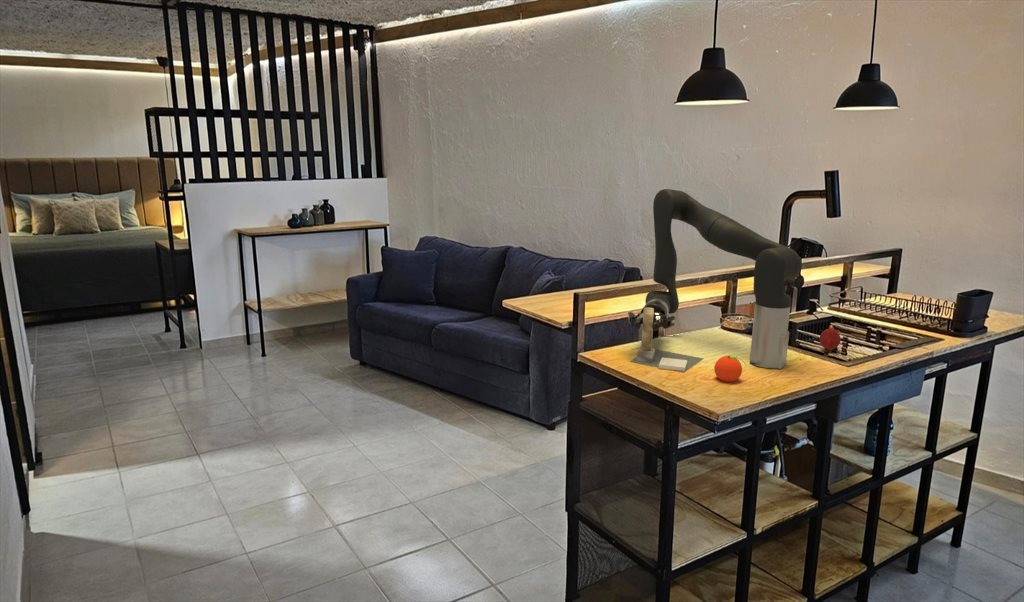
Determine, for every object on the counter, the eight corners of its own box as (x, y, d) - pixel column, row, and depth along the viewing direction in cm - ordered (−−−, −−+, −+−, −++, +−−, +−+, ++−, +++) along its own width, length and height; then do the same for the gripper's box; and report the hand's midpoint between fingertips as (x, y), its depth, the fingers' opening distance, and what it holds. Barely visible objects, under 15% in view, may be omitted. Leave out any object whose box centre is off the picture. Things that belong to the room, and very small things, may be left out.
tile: (687, 360, 187) (685, 367, 180) (687, 364, 187) (684, 371, 181) (662, 357, 189) (658, 364, 183) (661, 361, 189) (658, 368, 183)
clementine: (740, 377, 179) (742, 352, 177) (748, 386, 172) (751, 360, 170) (710, 377, 179) (712, 351, 177) (717, 385, 172) (719, 359, 170)
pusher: (654, 358, 192) (657, 307, 189) (652, 362, 188) (655, 310, 185) (639, 356, 193) (642, 306, 190) (636, 360, 189) (639, 309, 186)
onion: (842, 354, 201) (845, 328, 200) (823, 353, 201) (826, 327, 200) (833, 348, 207) (837, 323, 205) (815, 348, 207) (818, 323, 205)
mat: (703, 360, 193) (703, 358, 193) (683, 374, 180) (683, 372, 180) (651, 350, 202) (651, 348, 201) (629, 363, 189) (629, 361, 189)
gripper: (631, 298, 203) (621, 311, 187) (679, 303, 198) (673, 315, 182) (630, 322, 205) (620, 336, 189) (678, 327, 200) (671, 342, 184)
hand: (646, 326), depth 186 cm, fingers open, 4 cm apart
